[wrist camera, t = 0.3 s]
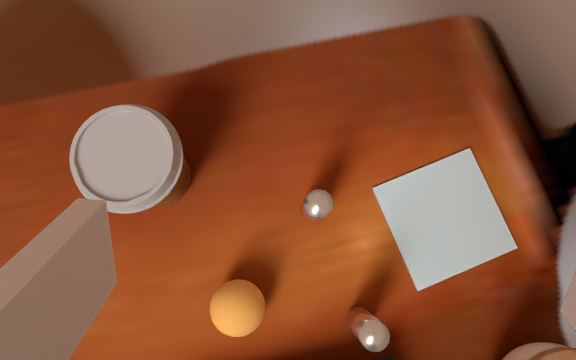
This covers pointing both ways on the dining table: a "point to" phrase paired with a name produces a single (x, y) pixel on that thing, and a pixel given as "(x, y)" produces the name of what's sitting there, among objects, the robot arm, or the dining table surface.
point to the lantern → (384, 358)
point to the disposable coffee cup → (129, 159)
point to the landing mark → (444, 219)
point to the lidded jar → (542, 352)
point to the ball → (237, 308)
